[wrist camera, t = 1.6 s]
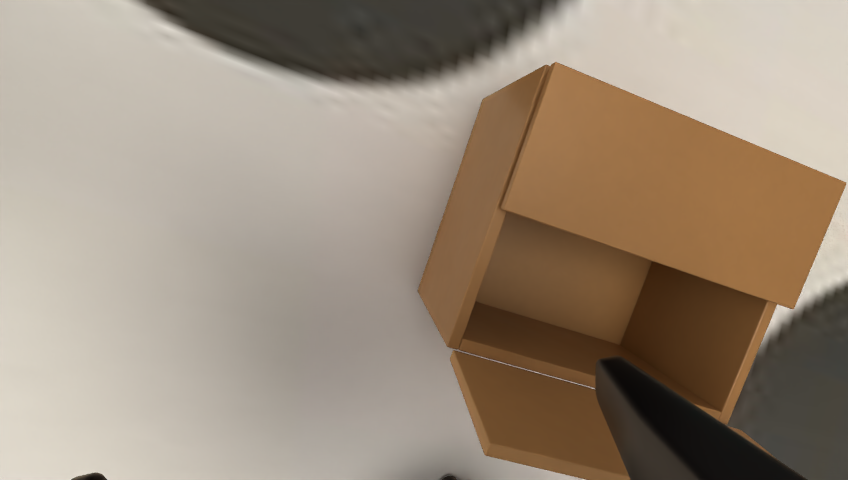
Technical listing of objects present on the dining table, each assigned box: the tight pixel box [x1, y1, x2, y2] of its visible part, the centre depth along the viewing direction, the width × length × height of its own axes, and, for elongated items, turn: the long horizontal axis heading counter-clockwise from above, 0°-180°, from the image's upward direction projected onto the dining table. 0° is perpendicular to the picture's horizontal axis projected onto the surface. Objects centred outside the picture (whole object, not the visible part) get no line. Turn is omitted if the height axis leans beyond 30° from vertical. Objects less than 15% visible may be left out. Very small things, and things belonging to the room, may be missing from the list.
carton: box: [418, 62, 846, 424], centre depth 23 cm, size 11×13×9 cm
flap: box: [450, 350, 775, 480], centre depth 16 cm, size 5×13×1 cm
